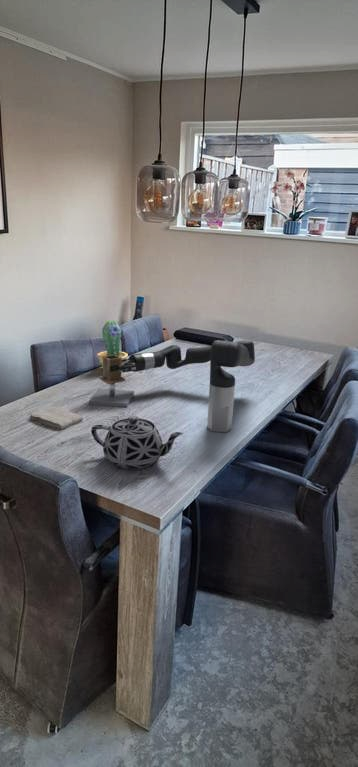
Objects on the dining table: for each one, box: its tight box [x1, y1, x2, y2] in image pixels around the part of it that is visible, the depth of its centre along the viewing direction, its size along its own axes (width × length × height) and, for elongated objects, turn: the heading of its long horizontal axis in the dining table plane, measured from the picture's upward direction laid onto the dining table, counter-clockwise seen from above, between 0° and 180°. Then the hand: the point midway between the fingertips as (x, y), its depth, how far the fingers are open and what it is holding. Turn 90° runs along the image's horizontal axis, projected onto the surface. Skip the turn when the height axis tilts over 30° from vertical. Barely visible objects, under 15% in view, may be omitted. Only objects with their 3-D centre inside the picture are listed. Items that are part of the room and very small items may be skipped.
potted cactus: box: [96, 320, 129, 367], centre depth 254 cm, size 15×15×25 cm
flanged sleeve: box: [98, 355, 126, 385], centre depth 214 cm, size 8×8×10 cm
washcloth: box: [29, 405, 84, 430], centre depth 194 cm, size 12×18×3 cm, turn 57°
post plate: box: [88, 383, 135, 408], centre depth 216 cm, size 16×16×10 cm
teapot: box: [90, 415, 184, 470], centre depth 163 cm, size 19×31×15 cm, turn 75°
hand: (106, 367), depth 213 cm, fingers closed on flanged sleeve, 5 cm apart
